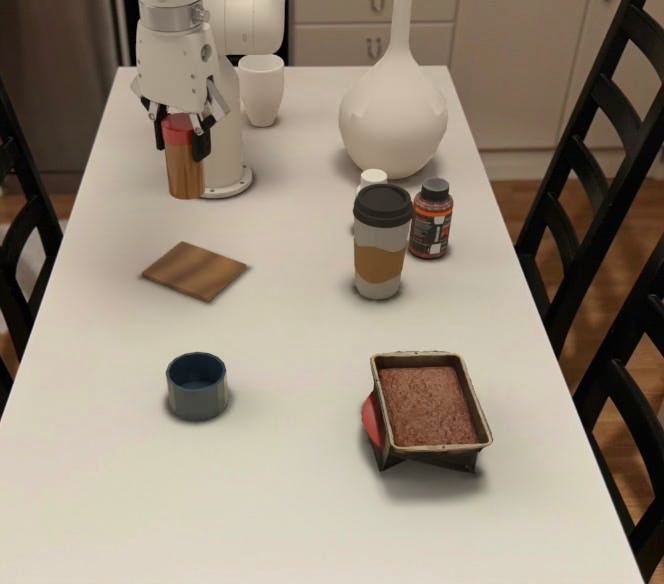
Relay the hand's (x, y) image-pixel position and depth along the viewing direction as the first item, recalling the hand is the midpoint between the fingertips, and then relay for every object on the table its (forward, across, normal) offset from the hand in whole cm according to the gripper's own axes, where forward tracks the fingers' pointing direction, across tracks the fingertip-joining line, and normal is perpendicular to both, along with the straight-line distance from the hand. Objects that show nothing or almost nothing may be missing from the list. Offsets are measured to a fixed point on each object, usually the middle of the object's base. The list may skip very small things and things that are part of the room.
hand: (183, 150), depth 121 cm
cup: (+21, -16, +21) cm, 33 cm away
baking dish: (+21, -43, +13) cm, 49 cm away
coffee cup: (+21, -24, -12) cm, 34 cm away
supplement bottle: (+21, -26, -25) cm, 42 cm away
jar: (+6, 0, 0) cm, 6 cm away
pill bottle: (+21, -16, -26) cm, 37 cm away
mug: (+22, +20, -50) cm, 58 cm away
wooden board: (+21, +1, -2) cm, 21 cm away
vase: (+22, -9, -46) cm, 51 cm away
